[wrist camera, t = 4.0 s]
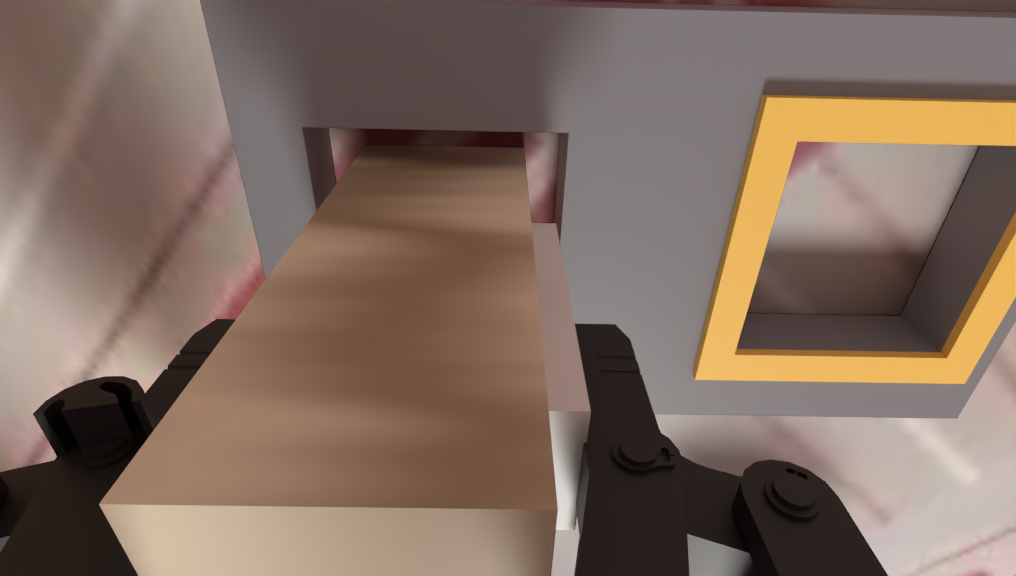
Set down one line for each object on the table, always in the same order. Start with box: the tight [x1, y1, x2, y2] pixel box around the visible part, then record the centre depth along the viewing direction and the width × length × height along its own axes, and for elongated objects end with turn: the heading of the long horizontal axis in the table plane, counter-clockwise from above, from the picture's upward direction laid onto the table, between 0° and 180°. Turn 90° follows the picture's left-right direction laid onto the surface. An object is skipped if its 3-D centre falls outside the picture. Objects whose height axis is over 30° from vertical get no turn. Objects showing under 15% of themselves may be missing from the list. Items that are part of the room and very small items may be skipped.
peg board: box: [200, 0, 1016, 418], centre depth 16 cm, size 22×12×2 cm, turn 89°
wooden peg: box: [99, 144, 558, 576], centre depth 12 cm, size 4×4×12 cm
